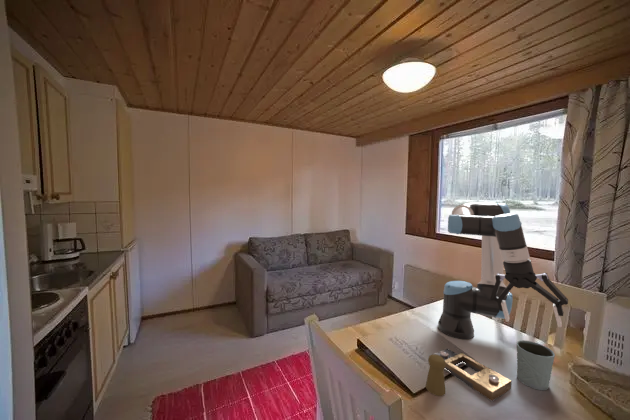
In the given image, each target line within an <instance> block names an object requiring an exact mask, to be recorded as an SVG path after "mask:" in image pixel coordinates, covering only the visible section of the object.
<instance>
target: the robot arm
mask: <svg viewBox="0 0 630 420" xmlns="http://www.w3.org/2000/svg"><path fill="white" fill-rule="evenodd" d="M523 230H524V229H523V226H522V221H521V219H520V217H519V214H518V213H516V212H513V213H512V212H511V210H510V207H509V205H508V204H507V203H504V202H503V203H501V202H476V201H475V202H474V201H473V202H472V201H471V202H465V203H460V204H459V205H457V206H455V207H454V208H453V209H452V211H451V214H449V215H448V217H447V232H448V233H449V234H456V235H467V236H468V235H469V236H481V262H480V264H481V267H480V270H481V272H480V273H481V274H480V277H481V278H480V281H479V282H477V284H476V287H475V286H473V284H472V283H471V282H469V281H464V280H450V281H447V282H446V283H445V284H444V286H443V287H444V288H443V298H442V299H443V300H442V301H443V303H442V313H441V315H440V317H439V320H438V325H437V326H438V327H437V328H438V330H439V331H441V333H443V334H445V335H446V336H449V337H452V338H455V339H462V340H464V339H465V340H469V339H471V338H473V337H474V335H475V328H474V325H473V322H472V318H471V315H472V314H476V315H481V316H487V317H490V318H491V317H492V318H495V319H503V320H504V319H505V322H507V323H509V321H510V315H511V312H512V308H513V302H514V301H513V300H514V299H513V293H512V292H510V291H511V290H512V289H513V288H514V287H515V288H517V289H521V288H523V289H529V288H531V289H533V290H534V291H536V292H537V293H539V294H540V295H542V296H543V297H544V298H545V299H547V300H548V301H550V302H551V303H552V309H553V312H554V316H555V317H554V318H555V320H556V324H557V327H558V328H562V325H563V323H562V319H561V317H563V316H564V309H563V306H566V305H568V304H569V299H568V298H567V296H565V294H564V293H563V292H562V291H561V290H560V289H559V288H558V286H556V285H555V284H554V282H553V281H552V280H551V279H550V277H549V275H548V273H546V272H542V273H538V274H536V273H535V271H534V267H533V264H532V260H531V259H530V258H531V257H530V256H531V255H530V253H529V249H528V246H527V245H528V244H527V243H526V242H527V241H526V239H525V235H524V231H523ZM504 272H505V274H504ZM504 279H505V280H506V281H507V282H508V285H507V286H506V285H505V283H504ZM537 279H538V280H539V281H540V282H543V283H544V284H545V286H546V287H547V288H548V290H550V291H551V292H552V293H553V294H552V293H551V292H550V291H548V290H547V289H546V288H544V287H543V286H542V285H540V284H539V283H538V282H537V281H536V280H537Z"/></svg>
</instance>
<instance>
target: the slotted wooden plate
mask: <svg viewBox="0 0 630 420" xmlns="http://www.w3.org/2000/svg"><path fill="white" fill-rule="evenodd" d="M434 354H435V355H439V356H441V357H442V358H443V359H444V360H445V363H446V366H445V368H446V369H447V370H449V371H450V372H451V376H453V377H454V378H456V379H458V380H460V382H461V383H464V384H465V385H467V386H468V387H469V388H471V389H473V390H474V391H476V392H477V393H479V395H482V396H483V397H485V398H486V399H488V400H489V401H490V402H493V401H495V400H496V399H497V398H498V399H499V398H500V397H501V396H502V395H505V394H506V393H507V392H509V391H511V390H512V380H511V379H509V378H507V376H504V375H502V374H500V373H498V372H496V371H495V370H493V369H492V368H489V367H488V366H486V365H484V364H482V363H481V362H479V361H478V360H475V359H473V358H472V357H470V356H468V355H466V354H465V353H463V352H461V353H459V354H458V353H456V352H454V351H453V350H451V349H449V348H446V349H443V350H441V351H438V352H436V353H434ZM462 361H463V362H465V363H466V365H465V366H466V367H468V368H469V369H471V370H472V371H474V372H475V373H474V374H470V373H469V372H466V371H465V370H463V369H462V368H460V367H459V366H455V365H456V364H458V363H460V362H462Z"/></svg>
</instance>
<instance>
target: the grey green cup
mask: <svg viewBox="0 0 630 420" xmlns="http://www.w3.org/2000/svg"><path fill="white" fill-rule="evenodd" d="M555 357H556V355H555V352H554V351H553V350H552V349H551V348H550V347H547V346H545V345H543V344H541V343H538V342H534V341H530V340H518V341H516V359H517V360H516V362H517V363H516V376H517V379H518V380H519V382H520V383H522V384H523V385H525V386H527V387H528V388H531V389H535V390H537V391H547V390H548V389H549V387H550V380H551V377H552V371H553V365H554V362H555Z"/></svg>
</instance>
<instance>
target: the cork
mask: <svg viewBox="0 0 630 420" xmlns="http://www.w3.org/2000/svg"><path fill="white" fill-rule="evenodd" d="M427 359H428V361H427V362H428V365H429V367H428V372H427V378H426V382H425V383H426V384H425V388H426V390H427V392H429V393H430V394H431V395H434V396H437V397H443V396H445V395H446V392H447V391H446V381H445V380H446V379H445V372H444V371H445V370H444V368H445V366H446V363H445V360H444V359H443V358H442V357H441V356H439V355H435V353H433V354H431V355H429V356H428V358H427Z"/></svg>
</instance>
